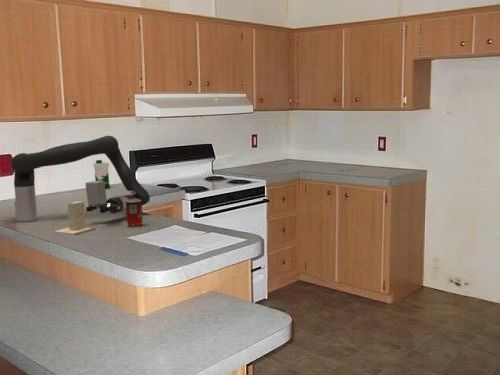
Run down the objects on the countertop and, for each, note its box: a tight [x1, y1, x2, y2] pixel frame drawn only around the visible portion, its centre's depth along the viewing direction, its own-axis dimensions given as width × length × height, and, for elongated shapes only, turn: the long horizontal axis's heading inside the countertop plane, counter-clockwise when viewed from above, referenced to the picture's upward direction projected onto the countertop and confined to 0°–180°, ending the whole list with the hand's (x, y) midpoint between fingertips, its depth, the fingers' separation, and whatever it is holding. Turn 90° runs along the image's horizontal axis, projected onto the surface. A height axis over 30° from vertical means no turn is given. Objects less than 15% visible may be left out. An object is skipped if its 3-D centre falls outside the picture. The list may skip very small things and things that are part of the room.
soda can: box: [125, 199, 143, 228], centre depth 242 cm, size 7×7×12 cm
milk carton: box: [93, 159, 111, 190], centre depth 369 cm, size 9×9×20 cm
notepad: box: [54, 227, 96, 235], centre depth 235 cm, size 14×11×1 cm
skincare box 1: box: [67, 200, 87, 230], centre depth 236 cm, size 6×4×12 cm
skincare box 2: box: [84, 180, 108, 212], centre depth 284 cm, size 8×7×16 cm
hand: (93, 210), depth 242 cm, fingers open, 8 cm apart
